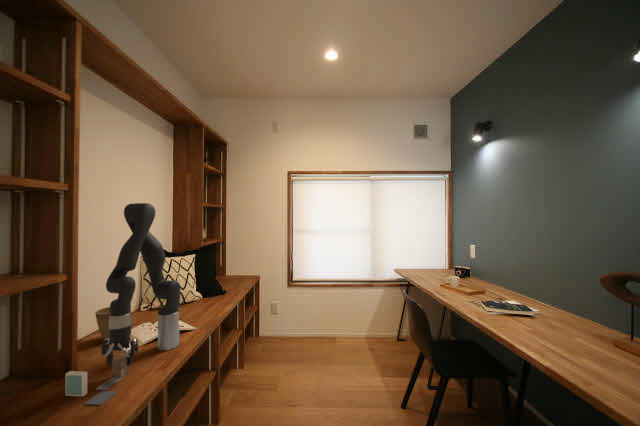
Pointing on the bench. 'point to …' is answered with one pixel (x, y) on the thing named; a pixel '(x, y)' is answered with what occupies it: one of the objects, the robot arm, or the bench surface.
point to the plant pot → (103, 321)
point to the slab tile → (76, 383)
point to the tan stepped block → (116, 372)
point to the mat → (101, 398)
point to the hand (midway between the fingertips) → (119, 364)
